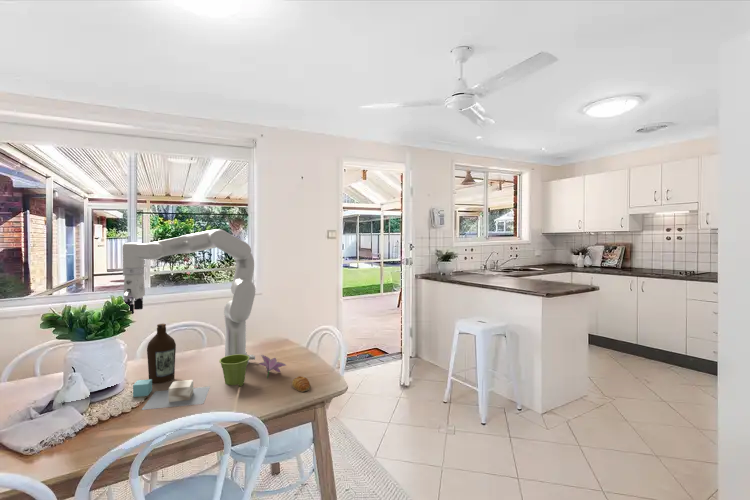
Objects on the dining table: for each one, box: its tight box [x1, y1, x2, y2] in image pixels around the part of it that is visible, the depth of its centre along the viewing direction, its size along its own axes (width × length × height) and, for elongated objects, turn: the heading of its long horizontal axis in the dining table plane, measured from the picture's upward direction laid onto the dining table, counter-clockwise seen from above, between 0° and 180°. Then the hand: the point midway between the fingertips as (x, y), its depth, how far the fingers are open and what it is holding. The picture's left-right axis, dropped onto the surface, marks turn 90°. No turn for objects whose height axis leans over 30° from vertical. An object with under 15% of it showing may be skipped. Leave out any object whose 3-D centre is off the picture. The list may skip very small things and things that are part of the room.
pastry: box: [291, 375, 311, 393], centre depth 154 cm, size 9×7×4 cm
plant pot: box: [219, 354, 250, 387], centre depth 155 cm, size 12×12×11 cm
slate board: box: [141, 386, 211, 411], centre depth 140 cm, size 20×16×2 cm
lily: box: [258, 354, 287, 379], centre depth 167 cm, size 12×12×10 cm
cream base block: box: [168, 379, 194, 402], centre depth 140 cm, size 7×7×5 cm
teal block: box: [132, 378, 153, 398], centre depth 143 cm, size 5×5×6 cm
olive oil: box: [146, 323, 177, 385], centre depth 157 cm, size 11×11×25 cm
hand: (134, 311), depth 158 cm, fingers open, 9 cm apart
